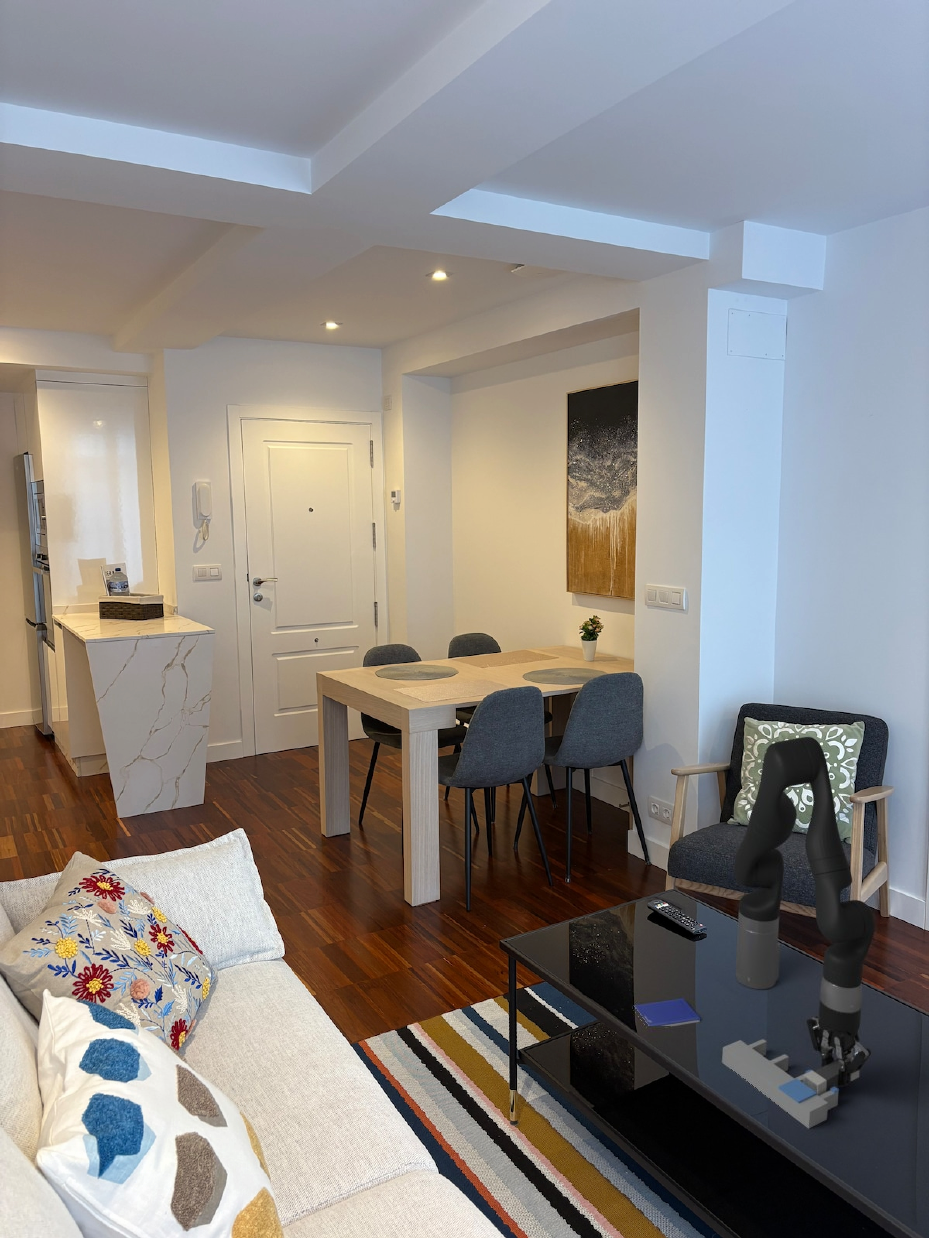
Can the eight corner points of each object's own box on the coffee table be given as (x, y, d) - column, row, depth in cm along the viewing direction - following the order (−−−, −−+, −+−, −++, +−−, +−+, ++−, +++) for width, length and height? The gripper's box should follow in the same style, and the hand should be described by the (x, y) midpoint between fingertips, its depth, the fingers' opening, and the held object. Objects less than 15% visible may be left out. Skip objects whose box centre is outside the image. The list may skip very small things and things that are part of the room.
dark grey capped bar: (844, 1067, 183) (844, 1052, 182) (859, 1076, 180) (859, 1061, 179) (803, 1090, 177) (803, 1074, 176) (817, 1100, 174) (818, 1084, 174)
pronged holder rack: (756, 1047, 192) (757, 1030, 192) (844, 1109, 173) (846, 1091, 173) (722, 1062, 187) (722, 1045, 187) (808, 1128, 169) (809, 1109, 168)
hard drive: (648, 1025, 198) (699, 1017, 201) (633, 1004, 206) (682, 997, 209) (648, 1032, 199) (699, 1024, 202) (632, 1010, 206) (682, 1003, 209)
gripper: (885, 1012, 172) (878, 1094, 175) (823, 977, 184) (818, 1054, 187) (858, 1024, 168) (852, 1107, 171) (798, 987, 180) (793, 1065, 183)
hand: (835, 1079), depth 179 cm, fingers closed on dark grey capped bar, 3 cm apart
